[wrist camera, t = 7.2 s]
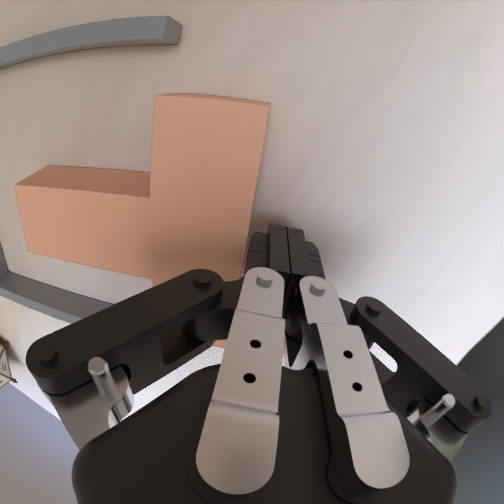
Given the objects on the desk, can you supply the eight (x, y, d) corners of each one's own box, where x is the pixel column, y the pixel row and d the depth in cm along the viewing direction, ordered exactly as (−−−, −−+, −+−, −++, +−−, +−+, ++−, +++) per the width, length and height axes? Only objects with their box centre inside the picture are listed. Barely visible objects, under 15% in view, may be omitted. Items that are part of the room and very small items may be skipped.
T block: (46, 98, 11) (9, 107, 8) (269, 102, 11) (270, 106, 9) (66, 276, 17) (45, 304, 15) (234, 310, 18) (229, 348, 15)
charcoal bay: (-21, 62, 9) (-42, 66, 7) (182, 25, 9) (167, 15, 8) (5, 277, 18) (-8, 291, 16) (160, 325, 19) (152, 347, 17)
